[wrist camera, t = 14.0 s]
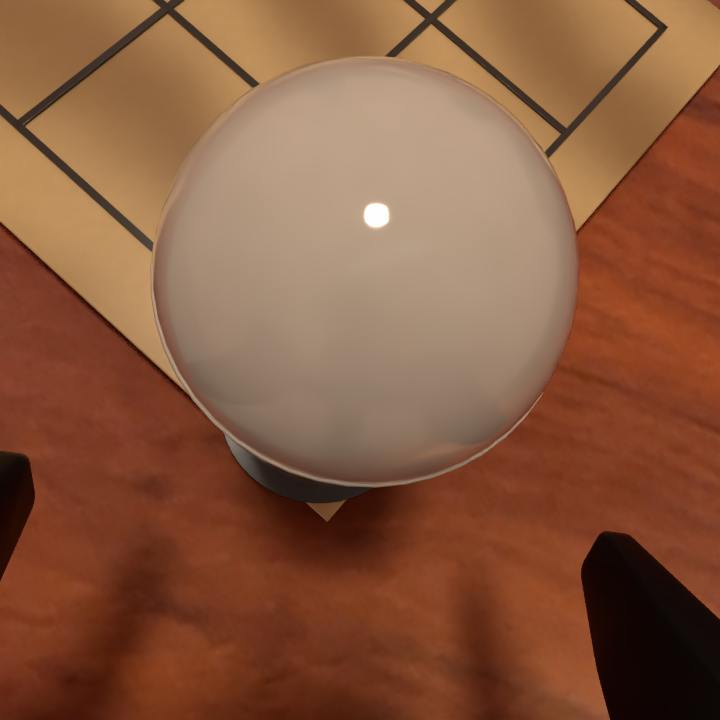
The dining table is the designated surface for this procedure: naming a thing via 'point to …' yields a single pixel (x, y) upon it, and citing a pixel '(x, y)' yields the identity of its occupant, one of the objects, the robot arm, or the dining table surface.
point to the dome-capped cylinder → (365, 272)
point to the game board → (272, 57)
